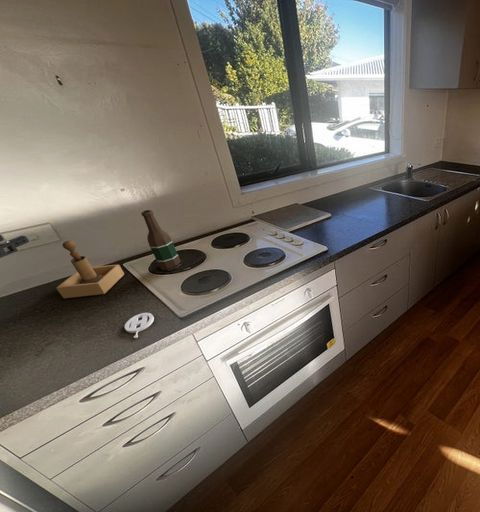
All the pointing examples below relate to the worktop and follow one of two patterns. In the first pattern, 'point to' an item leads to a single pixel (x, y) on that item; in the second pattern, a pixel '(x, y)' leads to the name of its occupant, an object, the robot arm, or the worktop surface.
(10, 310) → the worktop surface
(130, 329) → the pendant
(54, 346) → the worktop surface
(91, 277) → the mortar and pestle
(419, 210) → the worktop surface
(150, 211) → the beer bottle
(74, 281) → the wooden tray
